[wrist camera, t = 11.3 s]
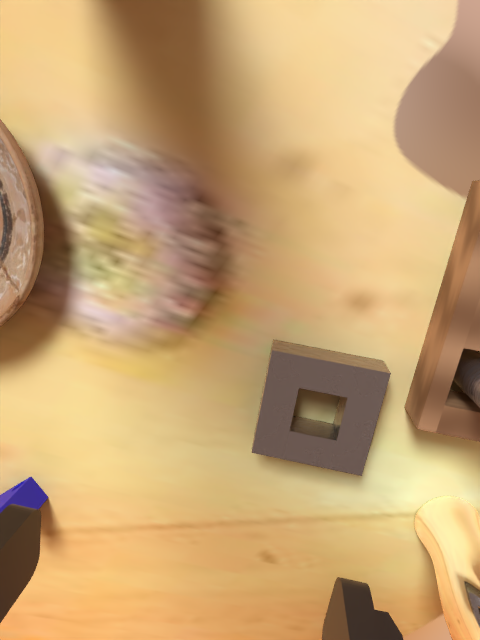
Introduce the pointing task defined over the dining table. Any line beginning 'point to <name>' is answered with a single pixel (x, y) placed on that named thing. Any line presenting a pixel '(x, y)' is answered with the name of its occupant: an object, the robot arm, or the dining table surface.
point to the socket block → (310, 435)
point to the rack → (451, 337)
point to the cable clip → (24, 495)
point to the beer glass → (454, 560)
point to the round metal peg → (469, 374)
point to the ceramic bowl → (17, 227)
